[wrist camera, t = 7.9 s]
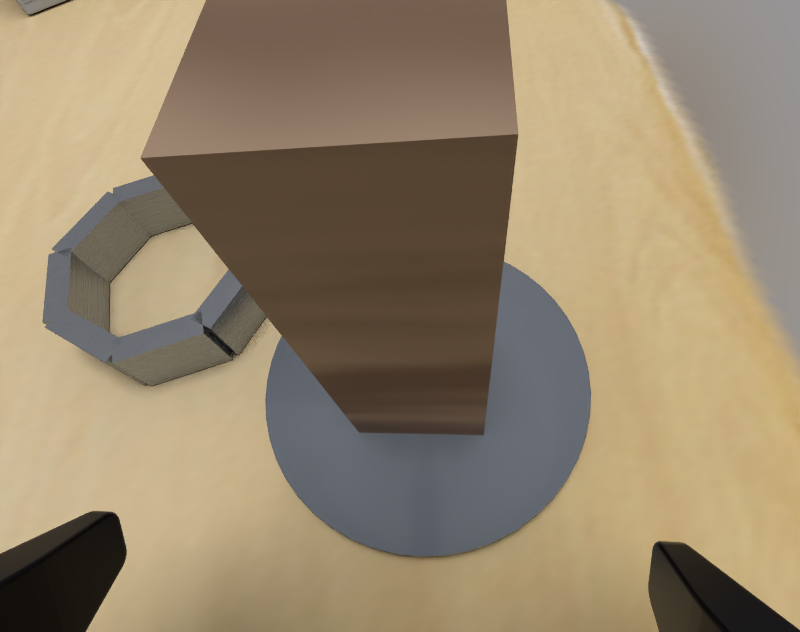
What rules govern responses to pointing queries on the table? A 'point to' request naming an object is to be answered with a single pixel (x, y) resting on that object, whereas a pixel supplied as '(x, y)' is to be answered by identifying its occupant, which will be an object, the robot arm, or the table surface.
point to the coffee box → (37, 5)
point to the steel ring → (104, 258)
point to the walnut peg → (356, 189)
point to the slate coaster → (443, 442)
